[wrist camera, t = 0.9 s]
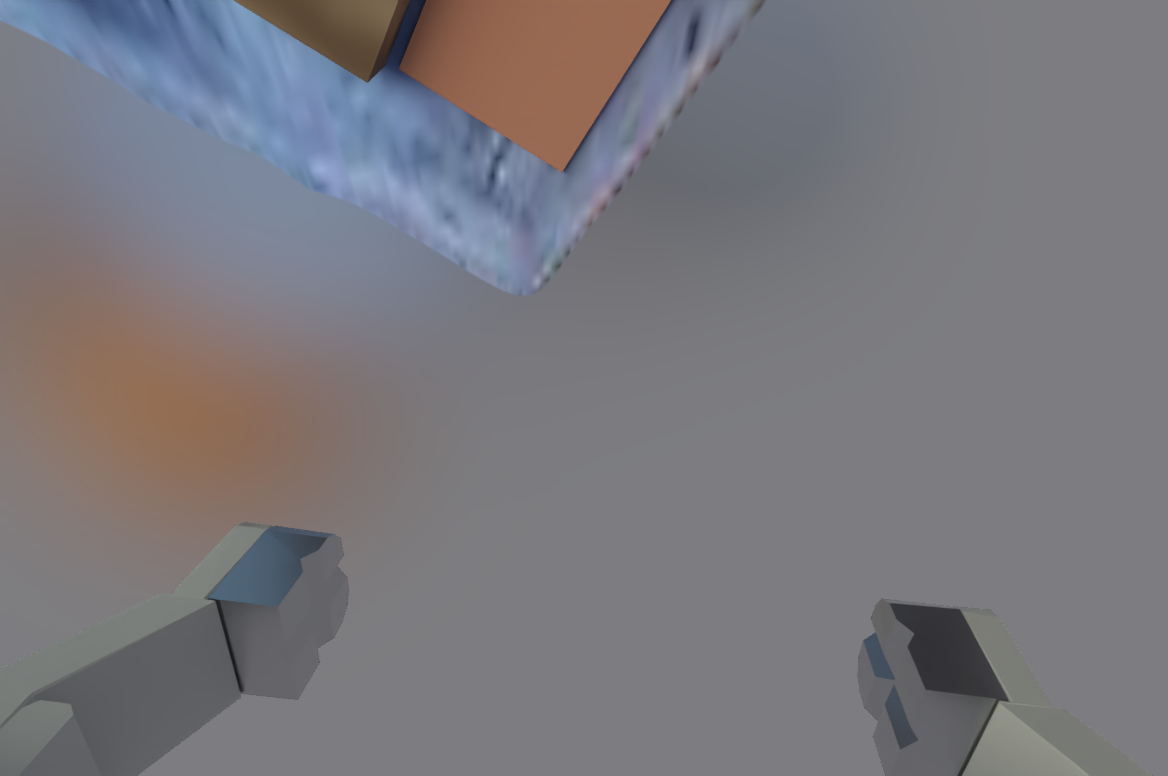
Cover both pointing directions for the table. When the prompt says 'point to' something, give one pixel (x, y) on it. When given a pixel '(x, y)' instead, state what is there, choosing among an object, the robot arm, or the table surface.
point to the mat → (530, 63)
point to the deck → (339, 28)
